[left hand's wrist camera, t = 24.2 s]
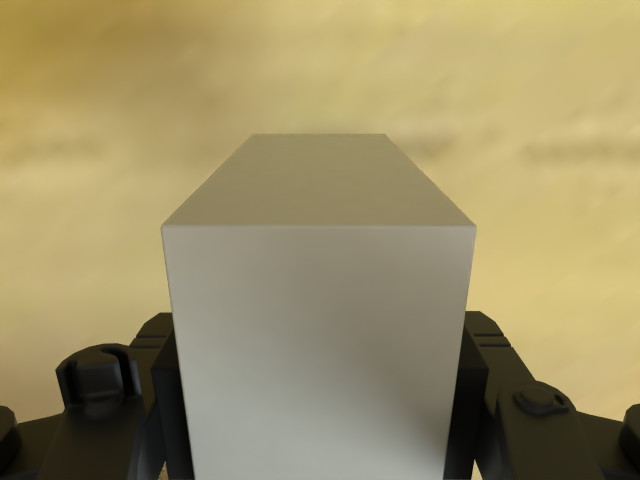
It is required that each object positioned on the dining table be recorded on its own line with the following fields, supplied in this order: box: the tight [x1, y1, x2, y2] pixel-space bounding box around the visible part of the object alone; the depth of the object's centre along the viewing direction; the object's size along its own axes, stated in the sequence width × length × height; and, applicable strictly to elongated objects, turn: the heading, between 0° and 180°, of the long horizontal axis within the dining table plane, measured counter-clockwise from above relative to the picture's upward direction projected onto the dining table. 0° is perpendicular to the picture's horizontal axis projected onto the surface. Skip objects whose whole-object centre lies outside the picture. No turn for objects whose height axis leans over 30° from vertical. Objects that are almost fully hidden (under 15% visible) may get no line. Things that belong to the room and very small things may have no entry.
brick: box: [161, 134, 477, 480], centre depth 12 cm, size 5×8×10 cm, turn 0°
